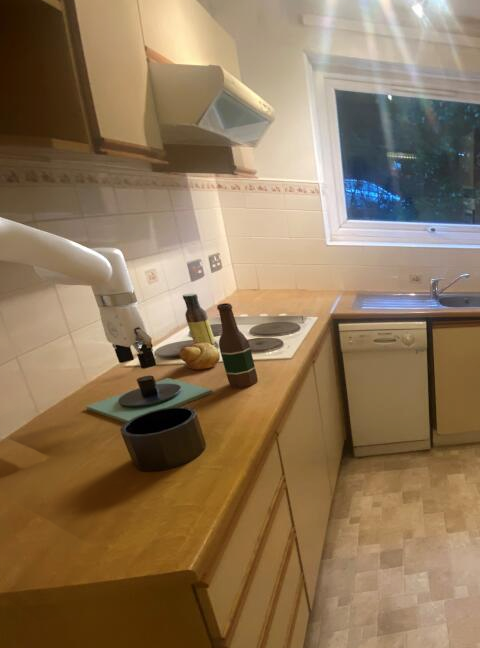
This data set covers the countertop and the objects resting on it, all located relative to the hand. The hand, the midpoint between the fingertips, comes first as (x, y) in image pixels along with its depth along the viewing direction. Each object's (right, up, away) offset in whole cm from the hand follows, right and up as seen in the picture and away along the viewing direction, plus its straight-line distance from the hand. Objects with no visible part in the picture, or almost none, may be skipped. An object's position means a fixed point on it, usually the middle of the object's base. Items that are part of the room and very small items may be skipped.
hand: (137, 364), depth 113 cm
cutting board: (0, -10, +5) cm, 11 cm away
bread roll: (-3, 0, +29) cm, 29 cm away
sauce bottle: (-12, +6, +43) cm, 45 cm away
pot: (+24, -20, -19) cm, 36 cm away
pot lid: (0, -8, +4) cm, 9 cm away
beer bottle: (+18, -6, +16) cm, 25 cm away
